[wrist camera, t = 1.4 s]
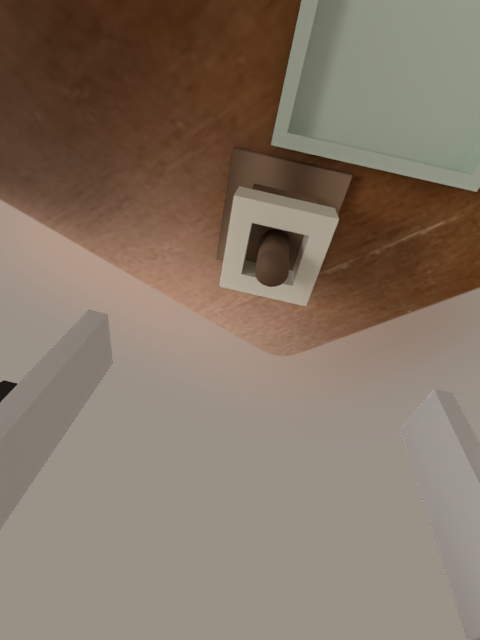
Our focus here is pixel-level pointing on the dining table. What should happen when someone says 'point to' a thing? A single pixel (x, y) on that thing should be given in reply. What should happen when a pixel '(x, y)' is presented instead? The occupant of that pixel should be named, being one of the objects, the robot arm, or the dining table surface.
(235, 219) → the ring
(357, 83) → the tray
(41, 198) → the dining table surface
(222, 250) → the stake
